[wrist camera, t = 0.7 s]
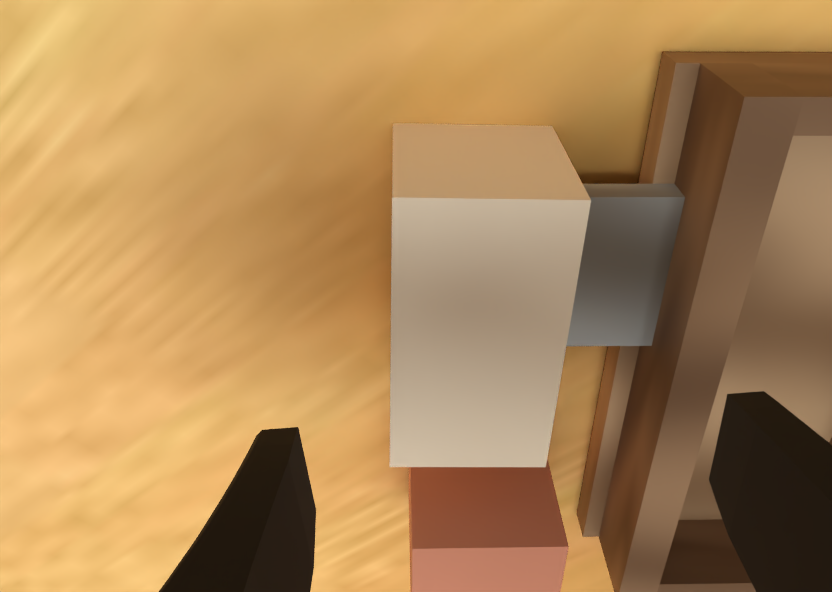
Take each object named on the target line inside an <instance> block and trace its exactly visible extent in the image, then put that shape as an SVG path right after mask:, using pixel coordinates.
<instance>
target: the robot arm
mask: <svg viewBox="0 0 832 592" xmlns="http://www.w3.org/2000/svg"><path fill="white" fill-rule="evenodd" d="M709 482H710V485H711V488H712V491H713V494H714V497H715V500H716V503H717V506H718V509H719V511H720V514H721V517H722V520H723V522H724V525H725V528H726V530H727V533H728V536H729V538H730V540H731V542H732V544H733V546H734V548H735V550H736V552H737V554H738V556H739V558H740V560H741V562H742V564H743V566H744V568H745V570H746V572H747V575H748V577H749V579H750V581H751V583H752V585H753V586H754V588H755V590H756V592H832V445H831V444H830V443H829V442H828V441H826V440H825V439H824V438H823V437H821V436H820V435H819V434H817V433H816V432H815V431H814V430H812V429H811V428H810V427H809V426H808V425H806V424H805V423H804V422H803V421H801V420H800V419H799V418H798V417H796V416H795V415H794V414H793V413H791V412H790V411H789V410H788V409H786V408H785V407H784V406H783V405H781V404H780V403H779V402H778V401H776V400H775V399H774V398H772V397H771V396H770V395H768V394H767V393H766V392H764V391H759V392H746V393H733V394H727V398H726V402H725V407H724V412H723V416H722V421H721V425H720V430H719V435H718V439H717V444H716V448H715V453H714V458H713V462H712V467H711V471H710V476H709ZM315 520H316V508H315V503H314V499H313V494H312V489H311V485H310V480H309V476H308V471H307V466H306V462H305V457H304V452H303V448H302V443H301V438H300V434H299V429H298V427H294V428H281V429H269V430H262V431H261V432H260V433H259V434H258V435H257V436H256V438H255V440H254V442H253V444H252V446H251V448H250V449H249V451H248V453H247V455H246V457H245V459H244V461H243V462H242V464H241V466H240V468H239V470H238V471H237V473H236V475H235V477H234V478H233V480H232V482H231V484H230V485H229V487H228V489H227V490H226V492H225V494H224V496H223V497H222V499H221V500H220V502H219V504H218V505H217V507H216V508H215V510H214V512H213V513H212V515H211V516H210V518H209V520H208V521H207V523H206V524H205V526H204V527H203V529H202V531H201V532H200V534H199V535H198V537H197V538H196V540H195V541H194V543H193V544H192V546H191V547H190V549H189V550H188V551H187V553H186V554H185V556H184V557H183V559H182V560H181V561H180V563H179V564H178V566H177V567H176V568H175V570H174V571H173V573H172V574H171V576H170V577H169V578H168V580H167V581H166V583H165V584H164V585H163V587H162V588H161V589H160V591H159V592H310V589H311V582H312V575H313V568H314V548H315Z"/></svg>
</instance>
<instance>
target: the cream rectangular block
mask: <svg viewBox="0 0 832 592" xmlns="http://www.w3.org/2000/svg"><path fill="white" fill-rule="evenodd" d="M590 204H591V199H590V197H589V195H588V193H587V191H586V189H585V188H584V186H583V184H582V182H581V180H580V178H579V176H578V174H577V172H576V170H575V168H574V167H573V165H572V163H571V161H570V159H569V157H568V155H567V153H566V151H565V149H564V148H563V146H562V144H561V142H560V140H559V138H558V136H557V134H556V132H555V130H554V128H553V127H552V126H535V125H478V124H422V123H393V159H392V259H391V374H390V467H546V463H547V457H548V451H549V445H550V440H551V434H552V428H553V422H554V416H555V410H556V404H557V398H558V393H559V387H560V381H561V375H562V369H563V363H564V357H565V351H566V345H567V340H568V334H569V328H570V322H571V316H572V310H573V304H574V298H575V293H576V287H577V281H578V275H579V269H580V263H581V257H582V251H583V245H584V240H585V234H586V228H587V222H588V216H589V210H590Z"/></svg>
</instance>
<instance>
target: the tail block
mask: <svg viewBox="0 0 832 592" xmlns="http://www.w3.org/2000/svg"><path fill="white" fill-rule="evenodd" d="M409 533H410V586H411V592H560V591H561V585H562V580H563V574H564V569H565V563H566V558H567V552H568V543H567V538H566V534H565V530H564V526H563V522H562V518H561V514H560V509H559V505H558V501H557V497H556V493H555V489H554V485H553V480H552V476H551V472H550V468H549V464H548V460H547V463H546V467H409Z"/></svg>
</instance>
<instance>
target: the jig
mask: <svg viewBox="0 0 832 592" xmlns="http://www.w3.org/2000/svg"><path fill="white" fill-rule="evenodd" d="M583 186H584V188H585V189H586V191H587V193H588V195H589V197H590V199H591V204H590V210H589V216H588V222H587V228H586V234H585V240H584V245H583V251H582V257H581V263H580V269H579V275H578V281H577V287H576V293H575V298H574V304H573V310H572V316H571V322H570V328H569V334H568V340H567V345H566V346H608V349H607V354H606V360H605V365H604V370H603V376H602V381H601V387H600V392H599V397H598V403H597V408H596V414H595V419H594V424H593V430H592V435H591V440H590V446H589V451H588V457H587V462H586V467H585V473H584V478H583V484H582V489H581V494H580V500H579V505H578V510H577V516H578V520H579V524H580V528H581V531H582V535H583V537H596V536H599V539H600V543H601V546H602V550H603V553H604V557H605V560H606V564H607V567H608V571H609V574H610V578H611V581H612V585H613V588H614V592H756V590H755V588H754V586H753V585H752V583H751V581H750V579H749V577H748V575H747V572H746V570H745V568H744V566H743V564H742V562H741V560H740V558H739V556H738V554H737V552H736V550H735V548H734V546H733V544H732V542H731V540H730V538H729V536H728V533H727V530H726V528H725V525H724V522H723V520H722V517H721V514H720V511H719V509H718V506H717V503H716V500H715V497H714V494H713V491H712V488H711V485H710V482H709V476H710V471H711V467H712V462H713V458H714V453H715V448H716V444H717V439H718V435H719V430H720V425H721V421H722V416H723V412H724V407H725V402H726V398H727V394H733V393H746V392H759V391H764V392H766V393H767V394H768V395H770V396H771V397H772V398H774V399H775V400H776V401H778V402H779V403H780V404H781V405H783V406H784V407H785V408H786V409H788V410H789V411H790V412H791V413H793V414H794V415H795V416H796V417H798V418H799V419H800V420H801V421H803V422H804V423H805V424H806V425H808V426H809V427H810V428H811V429H812V430H814V431H815V432H816V433H817V434H819V435H820V436H821V437H823V438H824V439H825V440H826V441H828V442H829V443H830V444H831V445H832V52H663V53H662V58H661V64H660V69H659V74H658V80H657V85H656V90H655V96H654V101H653V107H652V112H651V117H650V123H649V128H648V134H647V139H646V144H645V150H644V155H643V160H642V166H641V171H640V177H639V182H638V184H583Z"/></svg>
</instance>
